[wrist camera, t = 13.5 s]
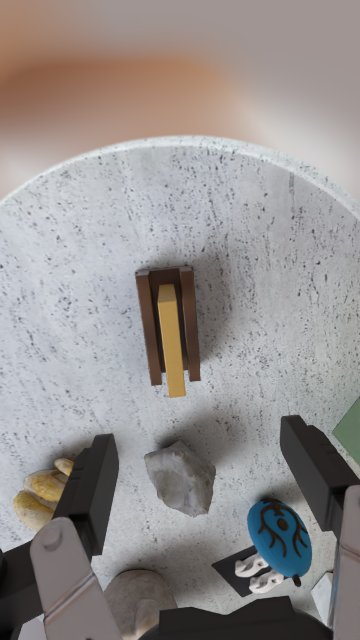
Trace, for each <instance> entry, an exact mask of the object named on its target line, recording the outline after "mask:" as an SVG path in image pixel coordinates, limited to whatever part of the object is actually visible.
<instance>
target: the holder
mask: <svg viewBox="0 0 360 640" xmlns="http://www.w3.org/2000/svg"><path fill="white" fill-rule="evenodd" d="M135 278H136V284H137V291H138V298H139V305H140V312H141V318H142V325H143V332H144V339H145V346H146V353H147V359H148V366H149V373H150V380H151V385H152V386H154V385H162V373H165V372H166V367H165V359H164V350H163V342H162V334H161V326H160V318H159V309H158V295H159V285H165V284H174V289H175V295H176V301H177V311H178V321H179V331H180V342H181V352H182V362H183V370H188V374H189V380H190V382H192V381H200V380H201V379H200V357H199V343H198V329H197V315H196V301H195V287H194V273H193V266H182V267H171V268H161V269H151V270H141V271H136V272H135Z"/></svg>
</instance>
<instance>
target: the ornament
mask: <svg viewBox="0 0 360 640" xmlns="http://www.w3.org/2000/svg"><path fill="white" fill-rule="evenodd" d="M247 523H248V530H249V534H250V537H251V539H252V541H253V544H254V545H255V547H256V549H257V551H258V552H259V554H260V555H261V556H262V558H263V559H264V560H265V561H266V562H267V563H268V565H269V566H270V567H272V568H273V569H274V570H275V571H277V572H278V573H280V574H282V575H284V576H286V577H290V578H292V579H293V581H294V584H295V585H296V586H297V587H300V586H301V581H300V578H299V577H302V576H303V575H304V574H306V573H307V572H308V570H309V568H310V566H311V560H312V547H311V542H310V538H309V535H308V531H307V529H306V527H305V525H304V523H303V521H302V520H301V518H300V517H299V515H298V514H297V513H296V512H295V511H294V510H293V509H292V508H290V507H289V506H287V505H286V504H284V503H282V502H281V501H279V500H277V499H266V500H264V501H261V502H258V503H256V504H255V505H254V506H253V507H252V508H251V509H250V511H249V514H248V517H247Z"/></svg>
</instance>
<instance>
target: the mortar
mask: <svg viewBox="0 0 360 640" xmlns="http://www.w3.org/2000/svg"><path fill="white" fill-rule="evenodd" d="M104 596H105V598H106V600H107V603H108V605H109V607H110V610H111V612H112V615H113V617H114V619H115V622H116V624H117V627H118V629H119V631H120V634H121V636H122V638H123V640H138V638H140V637H141V636H142V635H143V634H144V633H145V632H146V631H147V630H149V629H150V628H151V627H153V626H154V625H156V624H158V623H159V610H167V609H175V608H178V607H177V604H176V602H175V599H174V597H173V595H172V593H171V591H170V589H169V587H168V585H167V584H166V582H165V580H164V579H163V578H162V577H161V576H160V575H159V574H157V573H155V572H153V571H148V570H131V571H127V572H123V573H121V574H119V575H118V576H116V577H115V578H114V579H113V580H112V581H111V582H110V584H109V585H108V586H107V588H106V589H105V591H104Z"/></svg>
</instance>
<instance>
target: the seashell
mask: <svg viewBox="0 0 360 640" xmlns="http://www.w3.org/2000/svg"><path fill="white" fill-rule="evenodd" d="M73 464H74V462H73V461H71V460H68V459H63V458H61V459H57V460H55V461H54V466H55V467H56V468H57V470H41V471H37V472H35V473H32V474H30V475H29V476H28V477H26V478H25V480H24V483H23V487H24V490H23V491H20V492H19V493H18V495H17V496H16V497H15V498H14V501H13V504H14V508H15V509H14V512H16V514H17V516H18V518H19V520H20V521H21V522H23V523H24V524H25V525H26V526H27V527H29V529H32V530H34V531H36V532H38V531H39V530H40V529H41V528H42V527H43V526H44V525H45V524H46V523H48V522H49V521H51V519H52V517H53V514H54V512H55V509H56V507H57V504H58V502H59V499H60V497H61V494H62V492H63V489H64V487H65V484H66V482H67V481H68V477H69V474H70V472H71V471H72V467H73Z"/></svg>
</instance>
